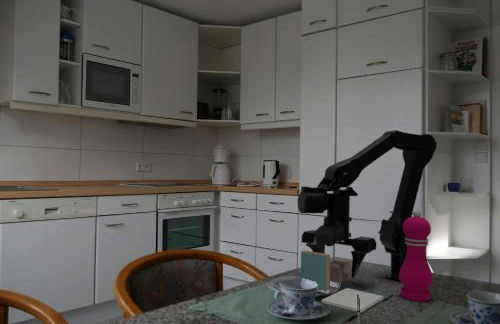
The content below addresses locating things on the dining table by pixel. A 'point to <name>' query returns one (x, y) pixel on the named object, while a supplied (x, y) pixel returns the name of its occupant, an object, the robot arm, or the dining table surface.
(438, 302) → the dining table surface
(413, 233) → the pepper mill
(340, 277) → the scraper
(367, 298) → the mat
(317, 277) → the tile
